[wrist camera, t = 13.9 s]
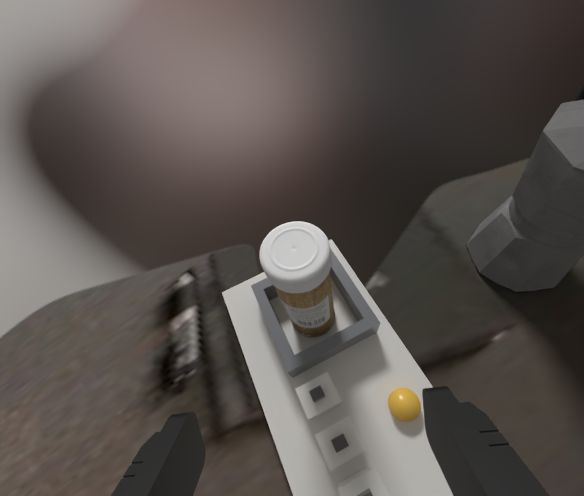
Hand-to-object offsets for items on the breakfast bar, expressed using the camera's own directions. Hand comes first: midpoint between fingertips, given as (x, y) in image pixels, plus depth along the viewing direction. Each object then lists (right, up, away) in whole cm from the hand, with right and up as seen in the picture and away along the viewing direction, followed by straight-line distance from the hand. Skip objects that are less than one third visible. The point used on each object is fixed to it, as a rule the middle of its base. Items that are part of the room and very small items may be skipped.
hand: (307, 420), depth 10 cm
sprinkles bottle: (+2, -1, +19) cm, 19 cm away
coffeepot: (+24, +6, +22) cm, 33 cm away
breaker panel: (+3, -6, +18) cm, 19 cm away
